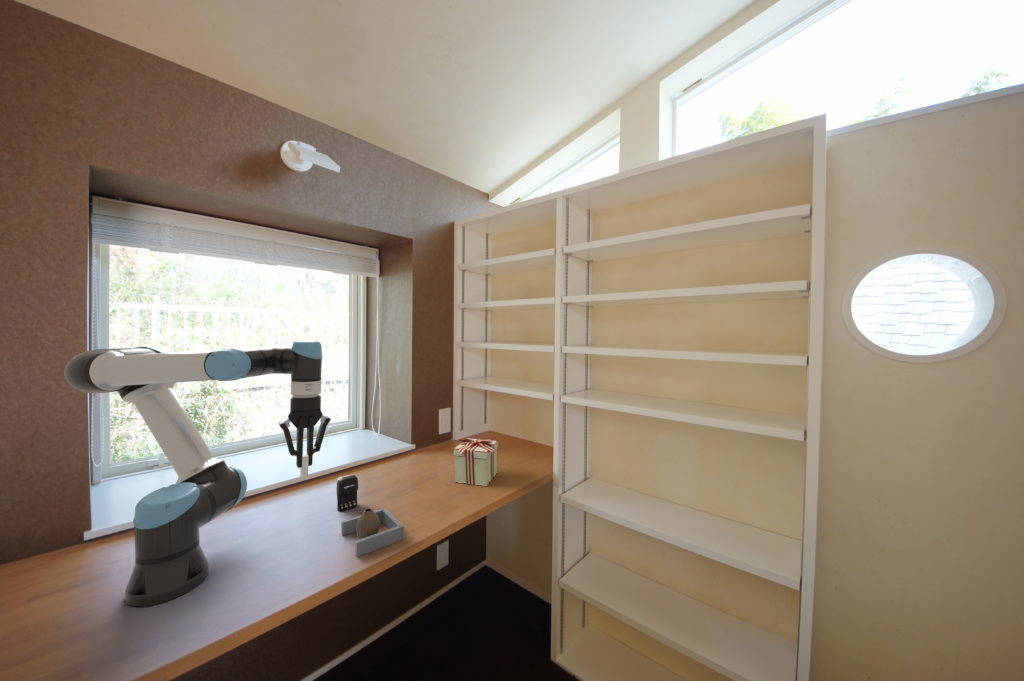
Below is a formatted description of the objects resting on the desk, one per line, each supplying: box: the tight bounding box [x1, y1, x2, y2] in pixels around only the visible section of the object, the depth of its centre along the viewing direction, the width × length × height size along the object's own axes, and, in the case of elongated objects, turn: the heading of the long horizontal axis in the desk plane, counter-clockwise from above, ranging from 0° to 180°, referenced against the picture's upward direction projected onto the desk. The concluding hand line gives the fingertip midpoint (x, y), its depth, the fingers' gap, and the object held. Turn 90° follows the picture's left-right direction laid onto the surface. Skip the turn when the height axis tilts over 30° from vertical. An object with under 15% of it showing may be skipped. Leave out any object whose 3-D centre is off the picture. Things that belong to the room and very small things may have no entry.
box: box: [340, 507, 405, 558], centre depth 112 cm, size 14×15×4 cm
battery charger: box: [335, 474, 359, 512], centre depth 130 cm, size 7×4×11 cm, turn 130°
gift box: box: [453, 437, 499, 487], centre depth 155 cm, size 17×18×17 cm
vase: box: [355, 507, 381, 540], centre depth 111 cm, size 7×7×9 cm
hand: (304, 477), depth 103 cm, fingers closed
